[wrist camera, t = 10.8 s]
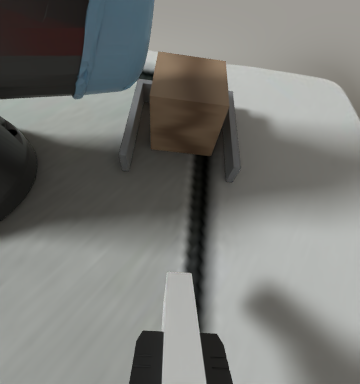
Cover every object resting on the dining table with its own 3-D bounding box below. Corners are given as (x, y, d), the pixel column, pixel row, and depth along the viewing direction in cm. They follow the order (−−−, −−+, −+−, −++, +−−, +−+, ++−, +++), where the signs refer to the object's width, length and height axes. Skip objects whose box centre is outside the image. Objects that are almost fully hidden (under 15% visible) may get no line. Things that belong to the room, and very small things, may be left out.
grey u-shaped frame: (122, 170, 25) (118, 154, 22) (139, 97, 32) (137, 78, 29) (232, 182, 26) (240, 168, 23) (226, 108, 33) (232, 91, 30)
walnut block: (150, 149, 27) (149, 95, 20) (157, 108, 31) (158, 51, 24) (210, 156, 28) (229, 106, 21) (210, 115, 32) (225, 61, 25)
